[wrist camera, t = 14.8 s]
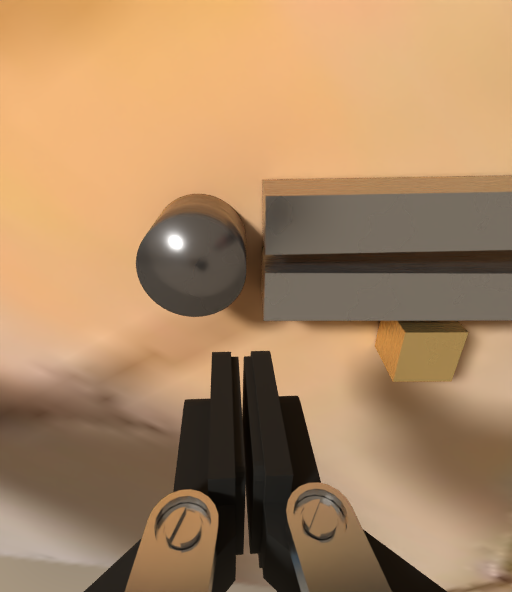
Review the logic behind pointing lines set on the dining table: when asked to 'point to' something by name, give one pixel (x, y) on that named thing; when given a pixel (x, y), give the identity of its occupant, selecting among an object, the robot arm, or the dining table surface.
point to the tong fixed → (313, 275)
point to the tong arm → (387, 214)
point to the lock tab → (420, 349)
